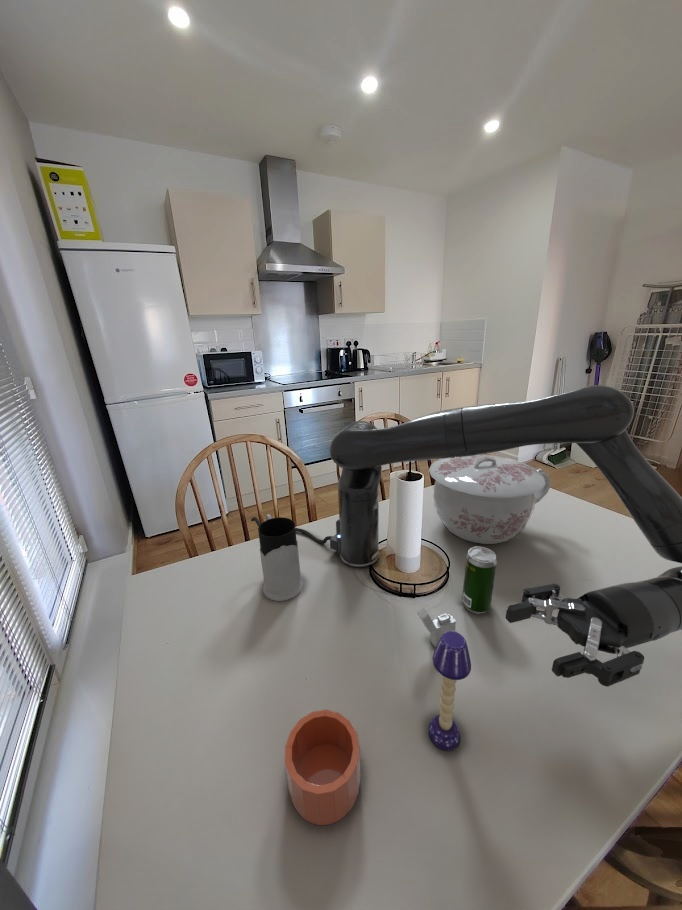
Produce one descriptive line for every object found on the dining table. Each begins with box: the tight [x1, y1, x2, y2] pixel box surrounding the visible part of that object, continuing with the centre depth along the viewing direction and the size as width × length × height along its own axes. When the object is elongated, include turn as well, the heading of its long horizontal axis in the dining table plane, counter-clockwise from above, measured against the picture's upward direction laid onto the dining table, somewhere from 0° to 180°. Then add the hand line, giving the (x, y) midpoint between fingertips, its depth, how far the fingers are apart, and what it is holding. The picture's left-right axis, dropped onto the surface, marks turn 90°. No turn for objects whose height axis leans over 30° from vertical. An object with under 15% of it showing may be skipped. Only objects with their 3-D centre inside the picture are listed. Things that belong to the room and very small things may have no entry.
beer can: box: [461, 546, 498, 615], centre depth 69 cm, size 5×5×12 cm
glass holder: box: [257, 513, 304, 602], centre depth 77 cm, size 9×14×15 cm, turn 24°
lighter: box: [416, 607, 457, 648], centre depth 61 cm, size 7×2×8 cm, turn 111°
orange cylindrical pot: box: [284, 709, 361, 826], centre depth 43 cm, size 9×9×6 cm
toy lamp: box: [427, 631, 472, 751], centre depth 46 cm, size 5×5×17 cm
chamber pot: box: [428, 454, 552, 545], centre depth 92 cm, size 28×28×21 cm
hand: (529, 640), depth 47 cm, fingers open, 8 cm apart
